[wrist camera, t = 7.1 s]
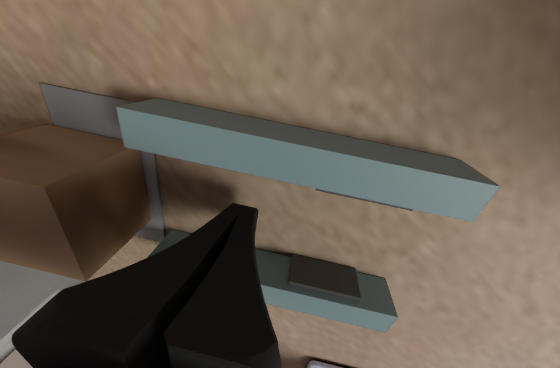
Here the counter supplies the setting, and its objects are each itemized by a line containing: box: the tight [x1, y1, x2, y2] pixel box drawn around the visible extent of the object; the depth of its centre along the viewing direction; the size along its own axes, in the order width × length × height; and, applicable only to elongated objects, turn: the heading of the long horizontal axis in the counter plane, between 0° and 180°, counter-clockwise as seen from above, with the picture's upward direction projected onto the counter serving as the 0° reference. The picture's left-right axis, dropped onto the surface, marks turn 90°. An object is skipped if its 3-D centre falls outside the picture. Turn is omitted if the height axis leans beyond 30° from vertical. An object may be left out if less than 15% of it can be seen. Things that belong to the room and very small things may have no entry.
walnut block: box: [0, 124, 151, 282], centre depth 11 cm, size 5×5×4 cm
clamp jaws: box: [116, 98, 500, 333], centre depth 11 cm, size 10×14×2 cm
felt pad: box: [39, 83, 166, 242], centre depth 13 cm, size 9×5×1 cm, turn 171°
